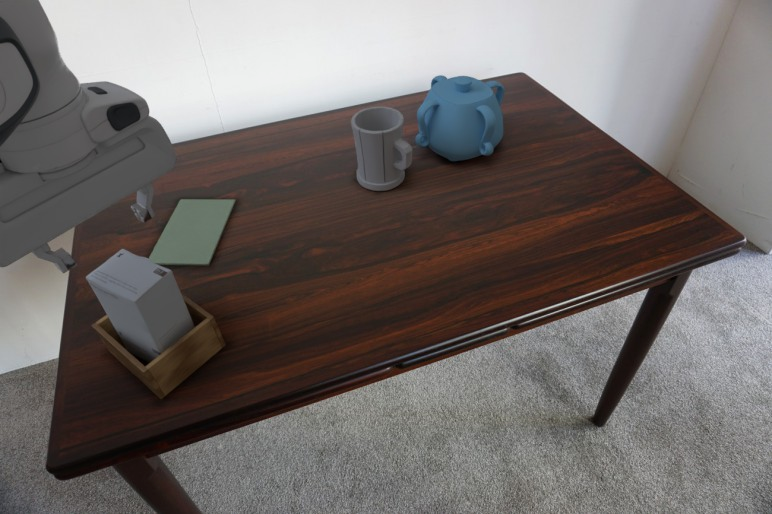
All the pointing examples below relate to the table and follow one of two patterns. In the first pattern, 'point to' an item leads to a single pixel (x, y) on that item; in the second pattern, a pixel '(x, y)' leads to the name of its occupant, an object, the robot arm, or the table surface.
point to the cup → (380, 148)
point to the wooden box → (168, 351)
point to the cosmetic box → (141, 303)
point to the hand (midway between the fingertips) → (108, 241)
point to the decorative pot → (461, 117)
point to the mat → (192, 232)
